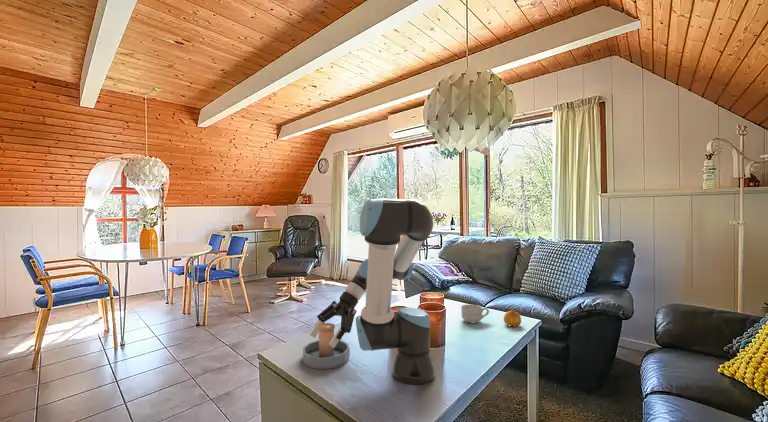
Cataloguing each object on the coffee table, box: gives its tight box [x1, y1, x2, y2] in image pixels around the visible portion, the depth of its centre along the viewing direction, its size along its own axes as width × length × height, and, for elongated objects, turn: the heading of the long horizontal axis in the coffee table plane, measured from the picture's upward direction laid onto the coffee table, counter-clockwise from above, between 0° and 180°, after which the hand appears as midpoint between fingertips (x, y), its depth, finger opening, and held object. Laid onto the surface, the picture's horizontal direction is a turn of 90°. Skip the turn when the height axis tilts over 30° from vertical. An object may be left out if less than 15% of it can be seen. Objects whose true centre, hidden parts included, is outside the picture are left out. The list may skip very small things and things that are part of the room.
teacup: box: [460, 304, 490, 323], centre depth 181 cm, size 14×11×8 cm
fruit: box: [503, 309, 522, 327], centre depth 176 cm, size 8×8×8 cm
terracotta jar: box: [318, 322, 336, 358], centre depth 137 cm, size 7×7×12 cm
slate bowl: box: [302, 339, 351, 370], centre depth 138 cm, size 18×18×4 cm
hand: (321, 341), depth 136 cm, fingers open, 13 cm apart
